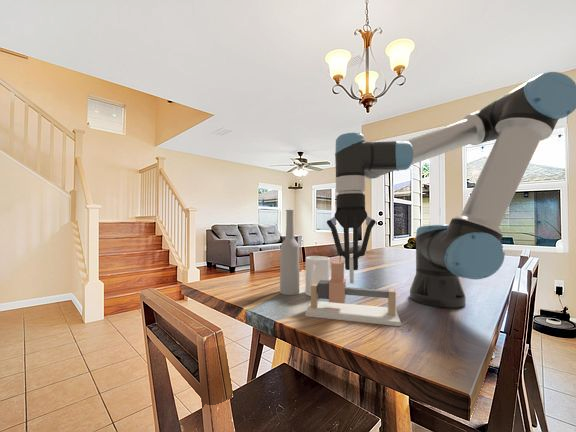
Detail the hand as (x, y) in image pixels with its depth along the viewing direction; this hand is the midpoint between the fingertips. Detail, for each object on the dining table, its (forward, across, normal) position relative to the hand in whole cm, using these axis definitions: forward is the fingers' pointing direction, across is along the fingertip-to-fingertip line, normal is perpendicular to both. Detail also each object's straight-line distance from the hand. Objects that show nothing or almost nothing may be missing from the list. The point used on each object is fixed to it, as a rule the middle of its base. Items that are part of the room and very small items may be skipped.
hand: (351, 282), depth 72 cm
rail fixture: (+9, 0, 0) cm, 9 cm away
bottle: (+8, +21, -15) cm, 27 cm away
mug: (+8, +12, -15) cm, 21 cm away
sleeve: (+5, +4, 0) cm, 6 cm away
